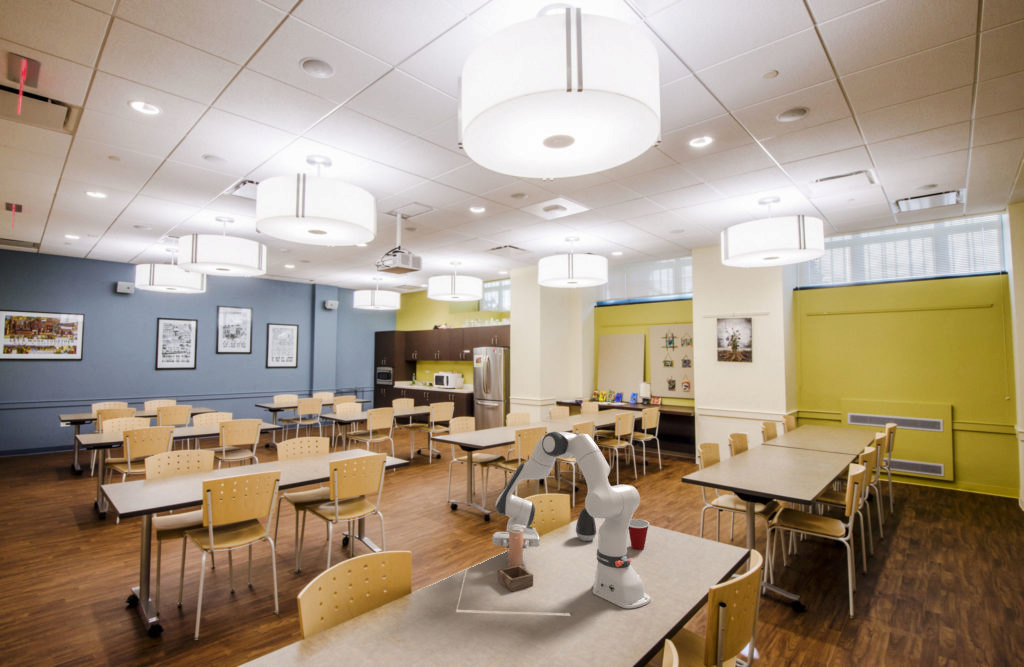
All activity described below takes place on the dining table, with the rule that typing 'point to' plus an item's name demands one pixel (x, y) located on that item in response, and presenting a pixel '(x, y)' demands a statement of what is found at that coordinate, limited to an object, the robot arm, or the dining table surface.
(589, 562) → the dining table surface
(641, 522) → the plastic cup
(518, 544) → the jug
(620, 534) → the robot arm
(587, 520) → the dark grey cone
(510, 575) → the holder
